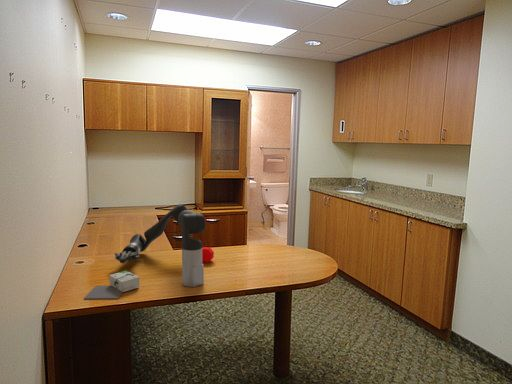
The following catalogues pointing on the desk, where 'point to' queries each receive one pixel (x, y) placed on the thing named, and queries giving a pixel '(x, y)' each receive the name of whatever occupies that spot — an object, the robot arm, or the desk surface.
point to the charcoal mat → (104, 293)
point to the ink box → (124, 281)
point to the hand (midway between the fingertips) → (121, 261)
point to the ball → (207, 254)
